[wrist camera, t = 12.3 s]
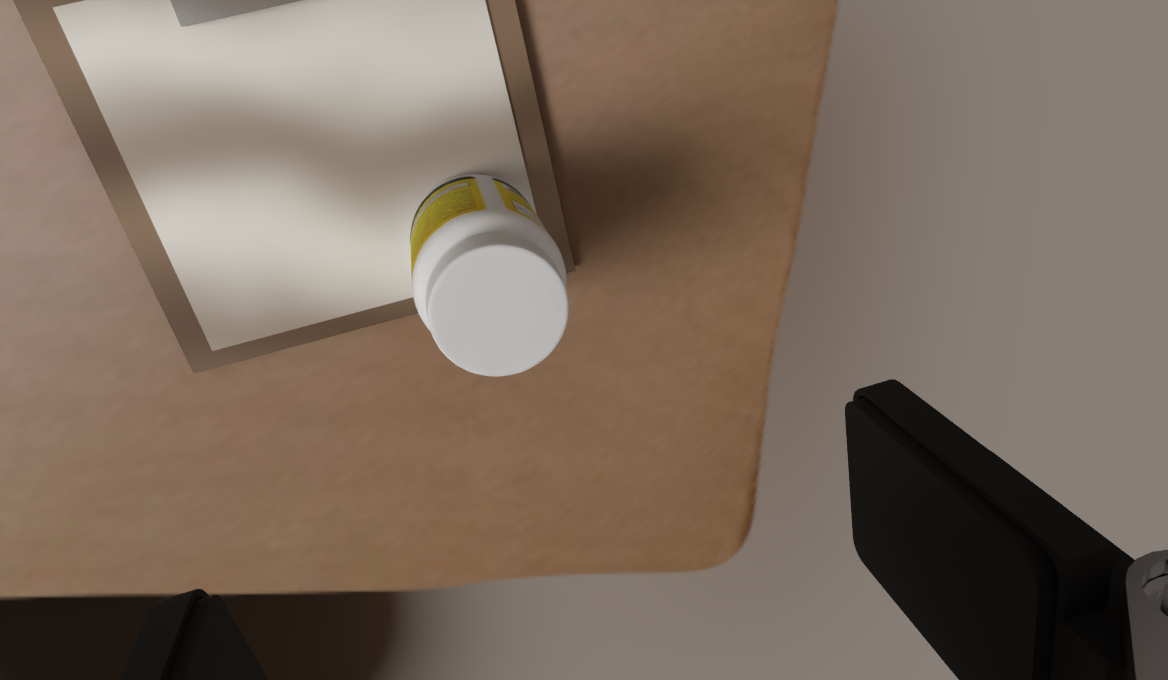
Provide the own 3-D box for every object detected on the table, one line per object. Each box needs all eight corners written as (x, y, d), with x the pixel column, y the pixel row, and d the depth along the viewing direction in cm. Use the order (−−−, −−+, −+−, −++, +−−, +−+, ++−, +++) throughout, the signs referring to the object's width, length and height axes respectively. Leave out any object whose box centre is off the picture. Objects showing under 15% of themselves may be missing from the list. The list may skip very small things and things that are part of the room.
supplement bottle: (404, 287, 29) (402, 383, 21) (417, 163, 27) (419, 218, 20) (528, 300, 30) (567, 394, 23) (547, 182, 29) (596, 241, 21)
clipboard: (4, -31, 23) (-14, -34, 22) (483, -132, 25) (486, -139, 24) (196, 369, 29) (188, 381, 28) (573, 267, 31) (579, 275, 30)
